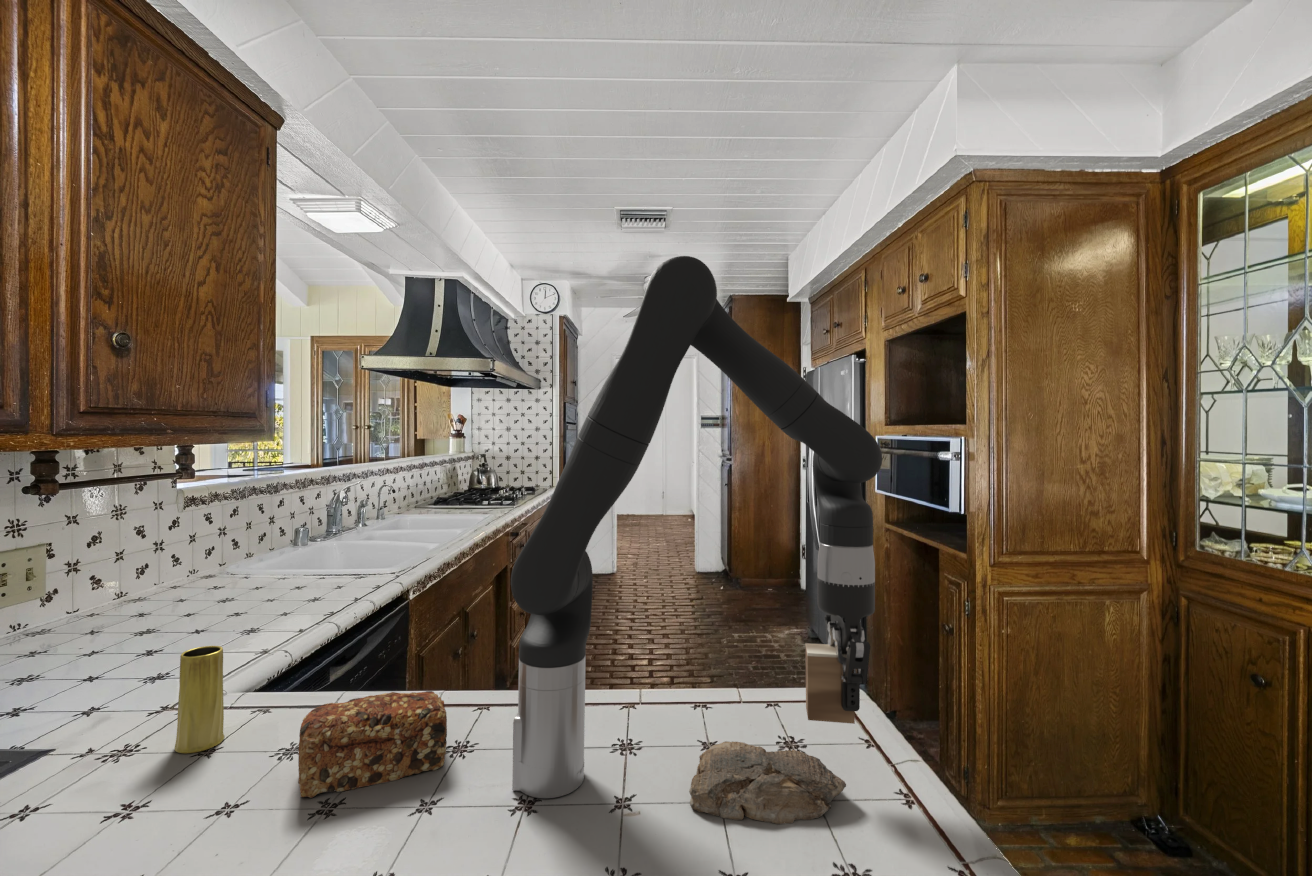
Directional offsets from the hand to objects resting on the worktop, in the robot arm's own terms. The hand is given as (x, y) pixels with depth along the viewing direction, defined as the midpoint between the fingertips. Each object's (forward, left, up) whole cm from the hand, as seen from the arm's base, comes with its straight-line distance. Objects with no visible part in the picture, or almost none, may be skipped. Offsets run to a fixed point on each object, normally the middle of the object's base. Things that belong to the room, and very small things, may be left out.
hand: (845, 701), depth 80 cm
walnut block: (-2, 0, -2) cm, 3 cm away
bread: (-66, +2, -13) cm, 68 cm away
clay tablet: (-10, -1, -13) cm, 17 cm away
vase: (-97, +6, -12) cm, 98 cm away
